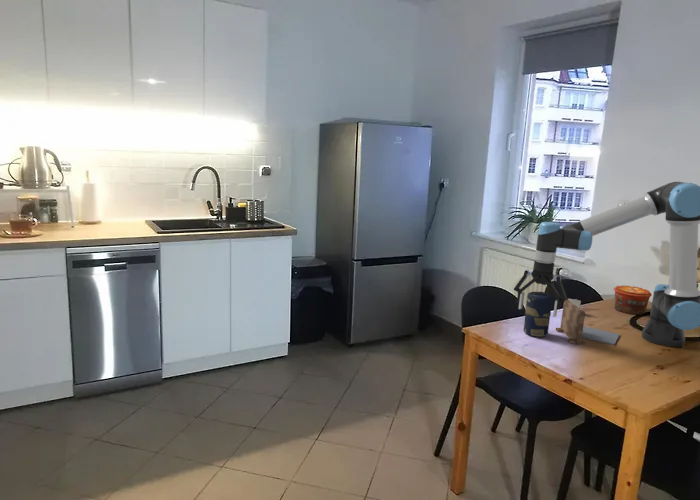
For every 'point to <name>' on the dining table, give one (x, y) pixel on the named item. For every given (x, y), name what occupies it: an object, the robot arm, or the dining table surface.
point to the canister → (537, 314)
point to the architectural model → (576, 303)
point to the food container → (631, 299)
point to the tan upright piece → (572, 322)
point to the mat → (599, 335)
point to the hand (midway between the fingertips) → (537, 312)
